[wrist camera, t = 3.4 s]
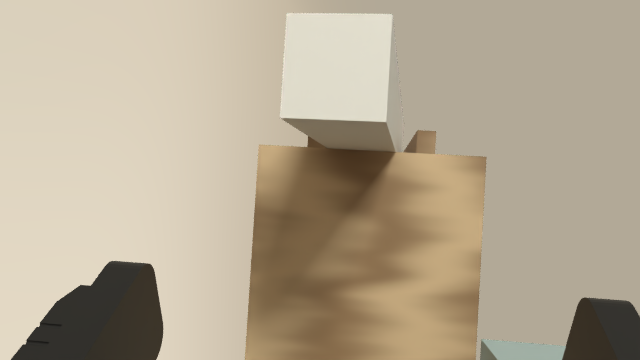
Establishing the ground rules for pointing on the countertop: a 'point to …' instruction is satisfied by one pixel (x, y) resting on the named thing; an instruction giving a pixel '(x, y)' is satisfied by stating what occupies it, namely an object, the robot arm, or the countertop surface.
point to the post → (519, 351)
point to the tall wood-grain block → (365, 253)
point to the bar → (343, 80)
